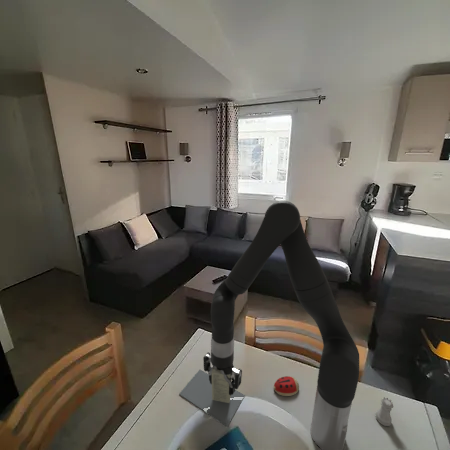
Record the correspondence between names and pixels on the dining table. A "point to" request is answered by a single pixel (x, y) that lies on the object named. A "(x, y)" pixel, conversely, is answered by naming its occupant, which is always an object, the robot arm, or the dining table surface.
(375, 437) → the dining table surface
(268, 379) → the dining table surface
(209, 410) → the mat
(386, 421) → the rook chess piece
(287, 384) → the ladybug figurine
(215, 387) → the skincare box
